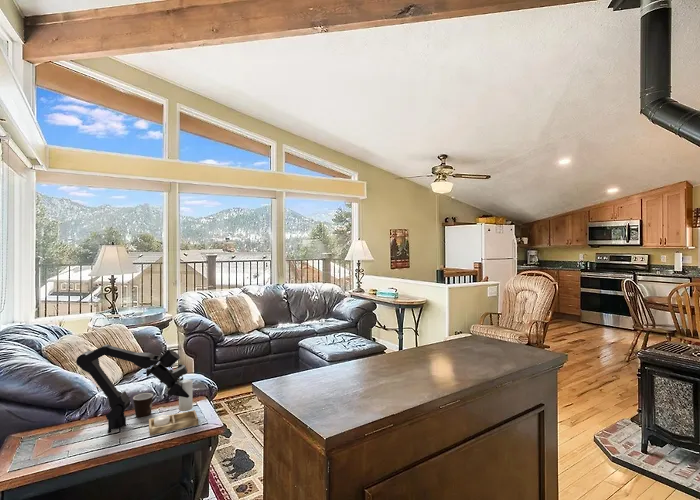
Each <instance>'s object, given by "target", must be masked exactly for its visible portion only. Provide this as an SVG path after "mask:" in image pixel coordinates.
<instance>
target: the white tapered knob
mask: <svg viewBox="0 0 700 500" xmlns="http://www.w3.org/2000/svg"><path fill="white" fill-rule="evenodd" d="M179 382H180V383H181V384H182V388H183V389H184V390H185V391H186V392H187V393H188V395H189V397H188V398H186V397H181V396H178V411H180V412H188V411H192V409H193V380H192V379H189V378H187V379H183V380H181V381H179Z"/></svg>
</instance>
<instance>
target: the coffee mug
mask: <svg viewBox="0 0 700 500" xmlns="http://www.w3.org/2000/svg"><path fill="white" fill-rule="evenodd" d="M132 399H133V401H132V402H133V407H134V414H135V417H136V418H139V419H140V418H145V417H148V416H150V415H151V414H152V408H153V399H154V395H153V393H150V392H146V393H139V394H136V395H134V396H133V397H132Z"/></svg>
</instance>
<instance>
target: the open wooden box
mask: <svg viewBox="0 0 700 500" xmlns="http://www.w3.org/2000/svg"><path fill="white" fill-rule="evenodd" d="M168 416H170V424H169V425H164V426H159V427H154V419H155V418H156V417H154V418H153V417H152V418H149V419H148V430H149V433H148V434H149V435H150V436H151V435H156V434H160V433H167V432H170V431H175V430H179V429H183V428H184V429H185V428H189V427H193V426H198V425H199V417H198V415H197V412H196V410H188V411H182V412H179V413H173V414H169V415H168Z"/></svg>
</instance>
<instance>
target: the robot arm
mask: <svg viewBox="0 0 700 500" xmlns="http://www.w3.org/2000/svg"><path fill="white" fill-rule="evenodd" d="M103 356H107V357H111V358H114V359H119V360H122V361H126V362H130V363H132V364H134V365H135V366H137V367H139V368H141V369H144V370H145V372H146V374H145V375H146V377H147V378H148V377H149V376H150V375H152V376H154V377H155V378H156V379H157V380H159V383H160V384H164V385H165V386H166V388H167V393H166V394H167V395H168V397H170V398H171V397H173V396H175V397H176V396H177V397H179V396H181V397H186V398H188V397H189V395H188V393H187V392H186V391H185V390H184V389H183V388H182V384H181V383H180V382H179V381H181V380H184V376H183V375H186V374H188V369H187V367H186V365H185V364H182V363H179V364H177V368H175V369H170V368H171V367H172V366H173V365H175V364H176V362H178V360H180V359H181V356H180V355H179V354H178V353H177V352H176V351H174V350H172V349H170V348H168V349H167V350H166V351H165V352H164V353H163V354H162V355H157V354H154V353H151V352H138V351H137V352H135V351H132V350H128V349H126V348H121V347H117V346H113V345H111V344H104V345H103V346H100V347H99V348H96V349H94V350H87V351H84V352H83V353H82V354H79V356H77V358H76V359H75V360H76V361H75V363H76V365H77V366H78V368H80V369H81V370H82V371H84V372H86V373H88V374H89V375H90V377H91V378H92V379H93V380H94V381H95V383H96V384H97V385H98V387H99V388H100V390H102V393H103V394H104V395H105V396H106V397H107V400H108V405H109V408H110V410H109V411H108V413H106V415H105V417H106V420H107V434H110V433H112V430H117V429H120V428H123V427H126V426H127V416H126V415H125V411H126V410H127V409H128V408H129V406H130V404H131V400H130V399H131V397H130V396H129V395H128V394H127V392H126V391H125V390H124V391H123V392H121V391H119V390H118V389H117V387H116V386H115V385H114V383H113V382H112V381H111V379H110V378H109V377H108V375H107V374H106V373H105V371H104V369H102V367H101V365H100V358H101V357H103Z"/></svg>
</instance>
